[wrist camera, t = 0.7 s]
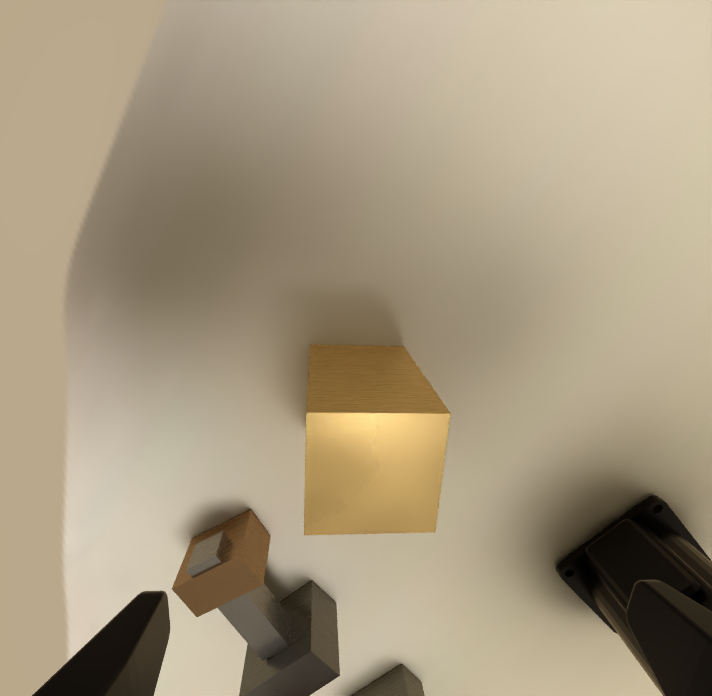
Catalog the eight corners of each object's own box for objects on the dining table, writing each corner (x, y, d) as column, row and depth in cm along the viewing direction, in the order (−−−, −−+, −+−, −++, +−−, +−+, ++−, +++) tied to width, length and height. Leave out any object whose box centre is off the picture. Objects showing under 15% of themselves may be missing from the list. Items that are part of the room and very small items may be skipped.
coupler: (403, 346, 18) (450, 413, 11) (396, 430, 19) (435, 532, 13) (310, 344, 17) (306, 412, 11) (308, 430, 18) (304, 534, 12)
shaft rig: (166, 551, 20) (133, 621, 16) (238, 497, 19) (221, 558, 16) (423, 764, 26) (439, 847, 22) (482, 728, 25) (508, 807, 22)
